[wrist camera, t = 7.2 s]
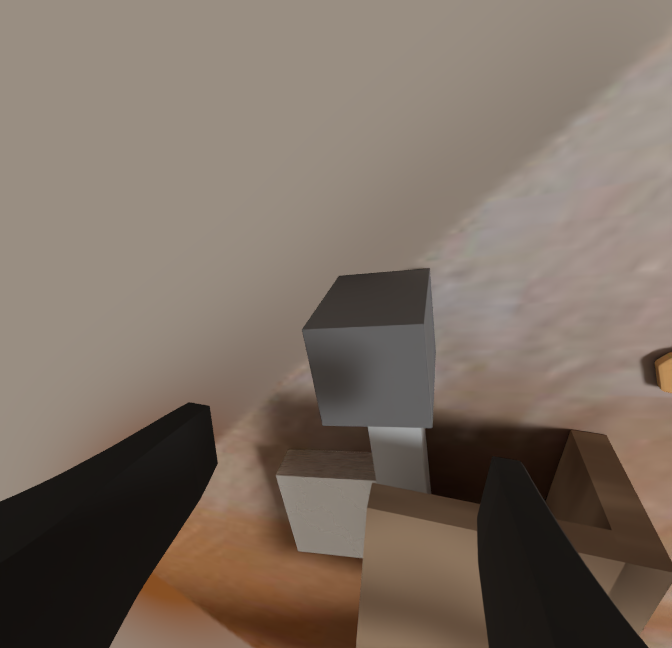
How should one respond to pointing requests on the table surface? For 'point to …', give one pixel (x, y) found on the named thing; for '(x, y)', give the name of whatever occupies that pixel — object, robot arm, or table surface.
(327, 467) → the block
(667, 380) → the popsicle
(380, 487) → the wooden corner piece
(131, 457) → the robot arm
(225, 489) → the table surface
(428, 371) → the hammer
